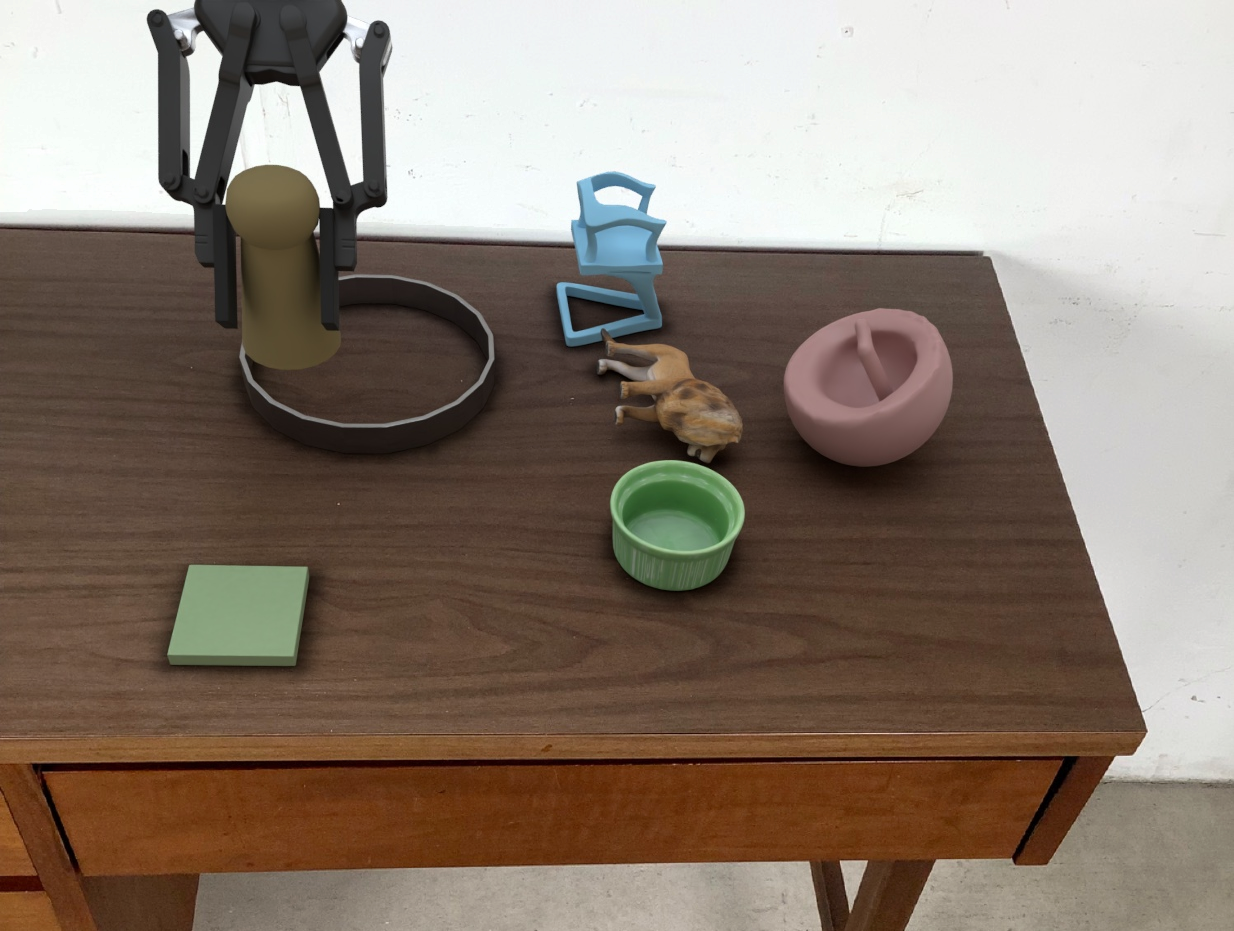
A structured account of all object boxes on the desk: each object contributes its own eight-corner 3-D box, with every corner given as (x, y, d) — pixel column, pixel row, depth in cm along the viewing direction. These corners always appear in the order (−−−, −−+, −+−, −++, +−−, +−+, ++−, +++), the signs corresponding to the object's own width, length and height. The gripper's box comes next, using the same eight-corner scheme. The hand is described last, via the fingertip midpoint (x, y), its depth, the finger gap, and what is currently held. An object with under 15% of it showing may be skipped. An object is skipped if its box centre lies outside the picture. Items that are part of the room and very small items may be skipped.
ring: (203, 423, 89) (196, 395, 87) (302, 282, 101) (299, 256, 99) (450, 476, 87) (450, 450, 85) (521, 327, 99) (522, 301, 97)
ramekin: (756, 583, 83) (767, 538, 79) (632, 611, 80) (638, 565, 77) (705, 495, 88) (713, 449, 85) (587, 518, 85) (591, 472, 82)
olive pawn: (358, 351, 76) (343, 190, 68) (267, 381, 73) (240, 217, 65) (315, 301, 79) (295, 140, 71) (226, 327, 76) (195, 164, 68)
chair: (667, 345, 99) (684, 212, 90) (565, 347, 98) (573, 212, 89) (652, 290, 104) (667, 159, 95) (555, 291, 103) (562, 158, 94)
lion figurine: (622, 474, 88) (741, 472, 90) (631, 415, 84) (755, 414, 86) (590, 356, 98) (698, 356, 100) (597, 298, 94) (709, 299, 96)
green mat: (170, 665, 74) (166, 654, 73) (191, 574, 79) (189, 564, 78) (295, 666, 75) (293, 656, 74) (309, 576, 80) (307, 566, 79)
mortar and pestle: (758, 395, 96) (785, 269, 87) (905, 396, 97) (945, 272, 89) (786, 500, 88) (818, 373, 80) (944, 500, 90) (993, 375, 81)
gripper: (82, -135, 64) (96, 311, 66) (430, -114, 67) (434, 318, 68) (122, -67, 72) (134, 333, 74) (434, -49, 74) (438, 338, 76)
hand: (278, 325), depth 71 cm, fingers closed on olive pawn, 5 cm apart
